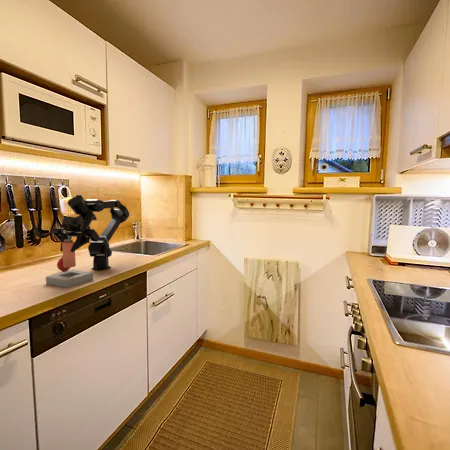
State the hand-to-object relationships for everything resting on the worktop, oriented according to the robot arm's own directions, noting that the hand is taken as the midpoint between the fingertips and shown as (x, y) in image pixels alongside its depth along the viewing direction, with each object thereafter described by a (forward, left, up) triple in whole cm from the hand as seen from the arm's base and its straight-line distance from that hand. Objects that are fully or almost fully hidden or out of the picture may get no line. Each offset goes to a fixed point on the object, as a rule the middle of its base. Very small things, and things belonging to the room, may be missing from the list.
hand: (66, 251), depth 109 cm
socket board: (-1, 0, -13) cm, 13 cm away
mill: (-1, 0, -7) cm, 7 cm away
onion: (-10, -15, -13) cm, 23 cm away
